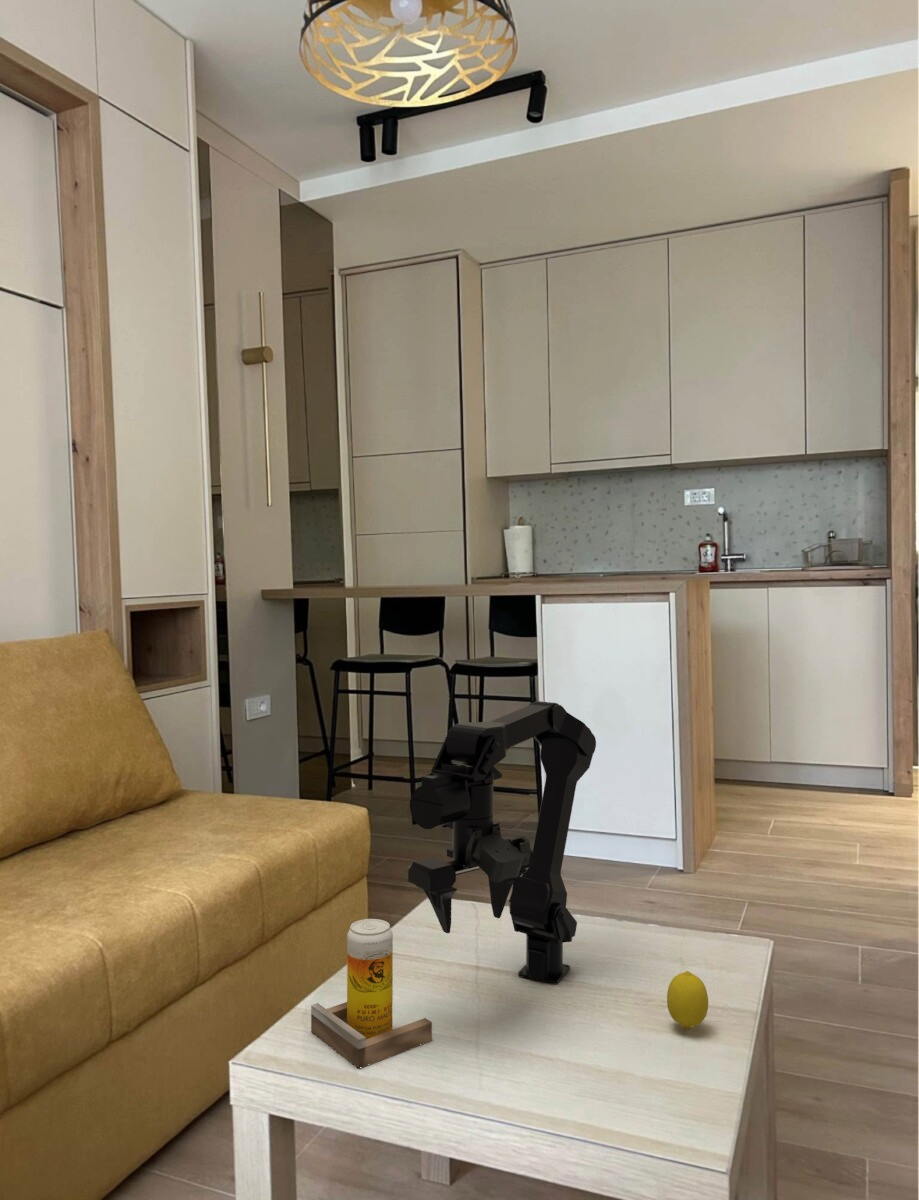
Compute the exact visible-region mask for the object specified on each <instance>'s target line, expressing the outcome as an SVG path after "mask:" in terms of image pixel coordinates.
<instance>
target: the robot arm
mask: <svg viewBox="0 0 919 1200" xmlns="http://www.w3.org/2000/svg"><path fill="white" fill-rule="evenodd" d="M533 738H534V740H535V741H536V742H537V743H538V744H539V746H540V754H539V756H540V757H539V758H540V762H541V763H542V767H543V770H544V773H545V782H544V788H543V793H542V796H541V797H542V798H541V804H540V808H539V815H538V819H537V820H538V821H537V824H536V830H535V835H534V841H533V845H532V848H531V841H530V840H529V839H528V838H527V837H525V836H524V835H523V836H518V837H515V838H513V839H511V838H506V839H505V838H503V837H502V834H501V833H502V832H501V826H500V823H499V822H497V821H494V781H496V780H500V779H502V777H503V774H502V773H501V771H499V770H498V769H497V768H496V767H495V766H496V765H497V764H499V763H500V762H502V761H503V760H505V758H506V757H507V752H508V750H510V749H511V748H512V747H514V746H515V747H516V746H517V745H519V744H521V743H524V742H525V741H528V740H530V739H533ZM596 748H597V740H596V737H595V735H594V733H593V732H592V730H591V729H590V728H589V727H588V726H587V725H586V723H584V722H583V721H581V720H580V719H578V718H577V717H575V716H574V715H572V714H571V713H569V712H567V710H566V709H565V708H564V706H562V704H559V703H557V702H552V701H551V702H550V701H549V702H548V701H539V700H537V701H534V702H531V703H529V705H527V706H524V707H523V708H520V709H517V710H515V711H512V712H510V713H508V714H504V715H503V716H500V717H497V718H495V719H493V720H490V721H481V722H480V721H477V722H476V721H474V722H473V721H470V722H459V723H456V724H454V725H452V726H451V727H450V728H449V730H448V733H447V735H446V737H445V739H444V742H443V744H442V745H441V748H440V749H439V753H438V754H437V757H436V759H435V761H434V764H433V766H432V768H431V771H430V773H431V774H432V775H424V776H422V777H421V785H420V786H418V787H417V788H416V789H415V790H414V791H413V792H412V795H411V797H410V799H409V812H410V814H411V817H412V819H413V820H414V822H415V824H417V825H418V826H419V827H420V828H422V829H423V830H433V829H435V828H438V827H442V826H445V825H446V827H447V829H448V828H449V829H451V830H452V847H451V848H446V857H448V858H451V859H452V860H451V861H448V862H446V861H444V860H441V859H439V858H435V857H433V856H431V857H427V858H422V859H419V860H414V861H412V862H411V864H410V865H408V870H407V882H408V883H410V884H413V885H415V887H417V888H419V889H422V890H423V891H424V893H425V895H426V897H427V899H428V901H429V903H430V904H431V907H432V909H433V911H434V913H435V916H436V919H437V920H438V923H439V925H440V927H441V930H442V931H443V933H445V934H450V933H451V926H452V898H453V896H454V895H455V894H456V892H457V891H458V888H456V887H454V884H455V883H456V881H457V875H462V874H466V873H470V872H475V871H478V870H481V871H482V872H484V873H485V875H487V878H488V886H489V895H490V905H491V908H492V909H491V911H492V915H493V917H494V918H497V919H500V918H501V917H502V914H503V912H504V909H505V905H506V903H507V901H508V903H509V914H510V916H511V923H512V926H513V929H514V930H513V931H514V932H516V933H522V934H525V935H526V937H525V938H526V942H525V943H526V944H525V946H526V949H525V950H526V951H525V955H526V957H525V960H526V961H525V965H524V966H523V967H522V968H521V969H520V970H519V971H518V974H517V975H518V976H519V977H522V978H526V979H531V980H535V981H541V982H546V983H550V984H555V985H556V984H558V983H559V982H560V981H561V980H562V979H563V978H564V976H565V975H567V973H568V972H569V971H570V969H571V965H569V964H566V963H564V962H563V961H564V960H563V959H564V957H563V956H564V955H563V954H564V948H563V947H564V943H570V942H572V941H573V938H574V937H575V936H576V931H577V927H578V926H577V925H578V921H577V920H576V919H575V917H574V916H573V914H572V913H571V912H570V911H569V910H568V908H567V901H568V899H567V898H568V892H567V890H566V886H565V884H564V881H563V877H562V875H561V873H562V866H563V861H564V855H565V851H566V850H565V849H566V844H567V838H568V834H569V833H568V832H569V827H570V822H571V817H572V812H573V804H574V800H575V793H576V789H577V784H578V782H579V780H580V779H581V778H582V777H583V776H584V774H585V773H586V772H587V771H588V770H589V769H590V767H591V762H592V759H593V756H594V753H595V751H596ZM511 890H512V891H511ZM510 892H511V893H510ZM509 894H510V897H509ZM508 897H509V900H508Z"/></svg>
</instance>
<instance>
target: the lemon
mask: <svg viewBox="0 0 919 1200" xmlns="http://www.w3.org/2000/svg"><path fill="white" fill-rule="evenodd" d="M706 988H707V987H706V985H705V982H703V980H701V978H700V977H699V976H697V975H695V974H694V973H691V971H689V970H686V971H684V972H681V973H678V974H677V975H675V976H673V978H672V979H671V981H670V983H669V985H668V987H667V993H666V1006H667V1010H668V1012H669V1016H670V1017H671V1018H672V1020H673V1021H675V1023H676V1024H678V1025H680V1026H682V1027H683V1029H685V1030H686V1031H689V1030H691V1029H692V1028H693V1027H697V1026H699V1025H700V1024H702V1022H703V1021H704V1020H705V1019H706V1017H707V1014H708V1009H709V995H708V992H707V989H706Z"/></svg>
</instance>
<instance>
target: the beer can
mask: <svg viewBox="0 0 919 1200" xmlns="http://www.w3.org/2000/svg"><path fill="white" fill-rule="evenodd" d="M349 927H350V928H349V930H348V932H347V937H346V939H347V940H346V946H347V947H346V961H347V962H346V965H347V966H346V968H347V969H346V970H347V971H346V982H347V983H346V989H347V990H346V1002H347V1024H348V1025H349V1026H350V1027H352V1028H353V1029H354V1030H356V1031H357V1032H359V1033H360V1034H361V1035H363V1036H364V1037H365V1040H366V1039H369V1038H372V1037H374V1036H377V1035H380V1034H383V1033H385V1032H388V1031H391V1030H393V985H394V984H393V976H394V975H393V974H394V973H393V972H394V970H393V965H394V963H393V961H394V958H393V957H394V955H393V953H394V951H393V948H394V947H393V941H394V940H393V939H394V934H393V931H392V929H391V924H390V923H389V922H388V921H386V920H383V919H378V918H364V919H360V920H356V921H353V922H352V923H351V925H350V926H349Z"/></svg>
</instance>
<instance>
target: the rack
mask: <svg viewBox="0 0 919 1200" xmlns="http://www.w3.org/2000/svg"><path fill="white" fill-rule="evenodd" d="M310 1006H311V1007H310V1008H311V1009H310V1022H311V1023H310V1032H311V1033H312V1034H313V1035H314V1036H316V1037H317V1039H320V1040H321V1041H322V1042H323V1043H325V1044H326V1045H327V1046H329V1047H330V1048H331V1049H332V1050H333V1051H335V1052H336V1053H337V1054H339V1055H340V1056H341V1057H343V1058H344V1059H345V1060H346V1059H347V1062H349V1061H350V1062H351V1063H353V1064H354V1065H355V1066H356V1068H357V1067H358V1068H360V1067H363V1068H365V1067H367V1066H366V1065H368V1064H371V1065H373V1064H375V1062H376V1063H379V1062H380V1060H381V1061H383V1060H386V1059H389V1058H391V1057H393V1056H396V1055H398V1053H399V1054H401V1053H405V1052H406V1050H407V1051H410V1050H411V1049H410V1048H412V1049H414V1048H416V1047H415V1046H417V1047H419V1046H421V1045H420V1044H422V1045H424V1044H423V1043H425V1044H427V1043H429V1041H430V1042H431V1041H433V1022H432V1021H431V1020H429V1019H428V1018H426V1017H424V1018H422V1019H421V1018H420V1019H418V1020H416V1021H414V1022H413V1021H412V1022H411V1023H407V1024H405V1025H402V1026H400V1027H397V1028H394V1029H392V1030H391V1031H388V1032H385V1033H383V1034H380V1035H377V1036H374V1037H372V1038H369V1039H366V1040H365V1037H364V1036H363V1035H361V1034H360V1033H359V1032H357V1031H356V1030H354V1029H353V1028H352V1027H350V1026H349V1025H348V1024H347V1001H346V1002H343V1003H340V1004H337V1005H334V1006H331V1007H328V1008H326V1007H324V1006H323V1005H321V1004H320V1003H319V1002H317V1003H314V1004H311V1005H310ZM418 1045H419V1046H418ZM413 1047H414V1048H413ZM388 1057H389V1058H388ZM350 1062H349V1063H350ZM351 1063H350V1064H351ZM372 1063H373V1064H372ZM353 1064H352V1065H353ZM354 1065H353V1066H354ZM355 1066H354V1067H355ZM364 1066H365V1067H364ZM368 1066H369V1065H368ZM358 1068H357V1069H358ZM360 1069H361V1068H360Z"/></svg>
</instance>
